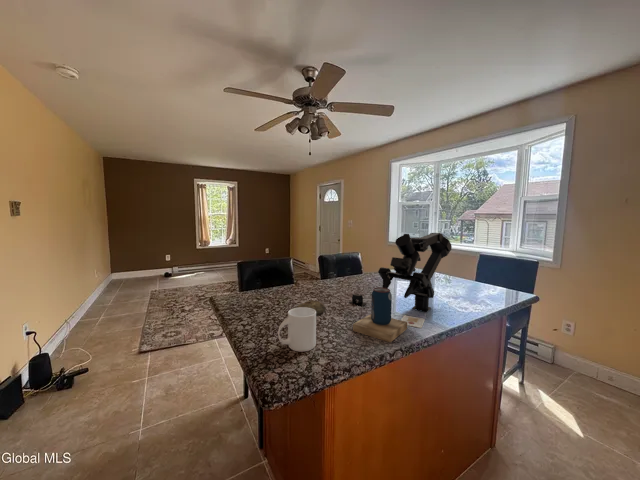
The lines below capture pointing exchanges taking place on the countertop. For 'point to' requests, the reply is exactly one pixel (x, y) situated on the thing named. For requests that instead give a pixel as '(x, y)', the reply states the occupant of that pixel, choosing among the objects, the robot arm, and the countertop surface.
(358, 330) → the oak slab
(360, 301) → the black angular block
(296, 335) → the mug
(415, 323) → the page
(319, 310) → the bread roll
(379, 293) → the soda can
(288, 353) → the countertop surface
